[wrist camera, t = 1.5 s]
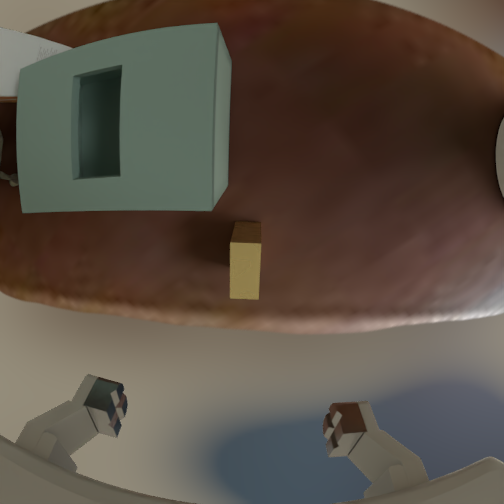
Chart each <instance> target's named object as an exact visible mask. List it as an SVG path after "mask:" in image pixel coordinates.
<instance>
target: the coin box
mask: <svg viewBox="0 0 504 504" xmlns="http://www.w3.org/2000/svg"><path fill="white" fill-rule="evenodd" d="M231 70H232V60H231V58H230V55H229V52H228V50H227V47H226V44H225V42H224V39H223V36H222V34H221V31H220V28H219V26H218V23H207V24H194V25H183V26H174V27H166V28H159V29H153V30H147V31H141V32H136V33H131V34H126V35H121V36H117V37H113V38H109V39H105V40H101V41H97V42H93V43H90V44H86V45H83V46H80V47H77V48H73V49H70V50H67V51H64V52H62V53H59V54H56V55H53V56H51V57H48V58H45V59H43V60H40V61H38V62H35V63H33V64H31V65H28V66H26V67H24V68H22V69H20V76H19V85H18V98H17V120H16V144H17V167H18V180H19V190H20V199H21V207H22V213H37V212H64V211H109V210H178V211H212V210H213V208H214V207H215V205H216V203H217V202H218V200H219V199H220V197H221V196H222V194H223V192H224V191H225V189H226V188H227V186H228V162H229V124H230V95H231Z"/></svg>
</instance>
